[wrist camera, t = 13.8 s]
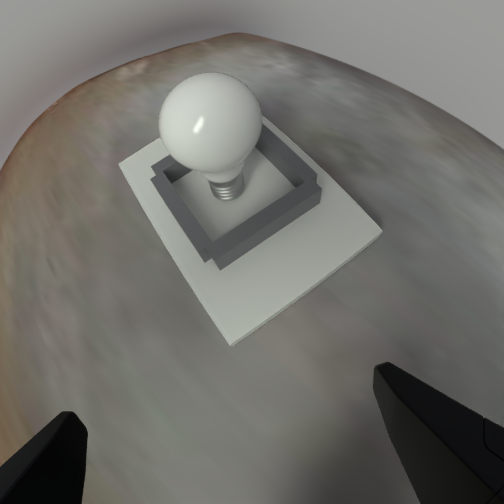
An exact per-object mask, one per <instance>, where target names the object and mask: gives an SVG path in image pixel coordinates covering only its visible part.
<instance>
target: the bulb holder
mask: <svg viewBox="0 0 504 504" xmlns="http://www.w3.org/2000/svg"><path fill="white" fill-rule="evenodd" d="M119 166H120V168H121V170H122V172H123V174H124V175H125V177H126V179H127V181H128V183H129V185H130V186H131V188H132V190H133V192H134V193H135V195H136V197H137V199H138V200H139V202H140V204H141V206H142V207H143V209H144V211H145V213H146V214H147V216H148V218H149V220H150V221H151V223H152V225H153V226H154V228H155V230H156V231H157V233H158V235H159V236H160V238H161V240H162V241H163V243H164V245H165V246H166V248H167V250H168V251H169V253H170V255H171V256H172V258H173V259H174V261H175V263H176V264H177V266H178V267H179V269H180V271H181V272H182V274H183V275H184V277H185V279H186V280H187V282H188V283H189V285H190V286H191V288H192V290H193V291H194V293H195V294H196V296H197V297H198V299H199V300H200V302H201V303H202V305H203V306H204V308H205V309H206V311H207V313H208V314H209V316H210V317H211V319H212V320H213V322H214V323H215V325H216V326H217V327H218V329H219V330H220V332H221V333H222V335H223V336H224V338H225V339H226V341H227V342H228V344H229V345H230V346H234V345H235V344H237V343H238V342H240V341H241V340H242V339H244V338H245V337H247V336H248V335H250V334H251V333H253V332H254V331H255V330H257V329H258V328H260V327H261V326H263V325H264V324H265V323H267V322H268V321H270V320H271V319H272V318H274V317H275V316H277V315H278V314H279V313H281V312H282V311H284V310H285V309H286V308H288V307H289V306H290V305H292V304H293V303H295V302H296V301H297V300H299V299H300V298H301V297H303V296H304V295H305V294H307V293H308V292H309V291H311V290H312V289H313V288H315V287H316V286H317V285H319V284H320V283H321V282H323V281H324V280H325V279H327V278H328V277H329V276H331V275H332V274H333V273H335V272H336V271H337V270H338V269H340V268H341V267H342V266H344V265H345V264H346V263H347V262H349V261H350V260H351V259H353V258H354V257H355V256H356V255H358V254H359V253H360V252H361V251H363V250H364V249H365V248H366V247H368V246H369V245H370V244H371V243H373V242H374V241H375V240H376V239H378V238H379V237H380V235H381V234H382V232H383V231H382V229H381V228H380V227H379V226H378V225H377V224H376V223H375V222H374V221H373V220H372V219H371V218H370V217H369V215H368V214H367V213H366V212H365V211H364V210H363V209H362V208H361V207H360V206H359V205H358V204H357V203H356V202H355V201H354V200H353V199H352V198H351V197H350V196H349V195H348V194H347V193H346V192H345V191H344V190H343V189H342V188H341V187H340V186H339V185H338V184H337V183H336V182H335V181H334V180H333V179H332V178H331V177H330V176H329V175H328V174H327V173H326V172H325V171H324V170H323V169H322V168H321V167H320V166H319V165H318V164H317V163H316V162H314V161H313V160H312V159H311V158H310V157H309V156H308V155H307V154H306V153H305V152H304V151H303V150H302V149H300V148H299V147H298V146H297V145H296V144H295V143H294V142H293V141H292V140H291V139H289V138H288V137H287V136H286V135H285V134H284V133H283V132H282V131H280V130H279V129H278V128H277V127H276V126H275V125H274V124H272V123H271V122H270V121H269V120H268V119H267V118H265V117H264V116H263V115H262V129H261V134H260V137H259V140H258V142H257V144H256V146H255V147H254V149H253V150H252V152H251V153H250V154H249V155H248V157H247V158H246V159H245V162H244V166H243V169H242V171H243V177H244V181H245V189H244V191H243V193H242V194H241V195H240V196H239V197H238V198H236V199H234V200H231V201H222V200H219V199H217V198H216V197H215V196H214V195H213V194H212V191H211V188H210V185H209V182H208V180H207V179H206V178H205V177H204V176H203V175H202V174H201V173H200V172H198V171H195V170H192V169H189V168H187V167H185V166H183V165H181V164H180V163H179V162H177V161H176V160H175V159H174V158H173V157H172V156H171V155H170V154H169V153H168V151H167V150H166V148H165V147H164V145H163V143H162V140H161V137H160V138H158V139H157V140H155V141H153V142H152V143H150V144H149V145H147V146H145V147H144V148H142V149H141V150H139V151H138V152H136V153H134V154H133V155H131V156H130V157H128V158H127V159H125V160H124V161H122V162H121V163H119Z"/></svg>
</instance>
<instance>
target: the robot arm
mask: <svg viewBox="0 0 504 504" xmlns="http://www.w3.org/2000/svg"><path fill="white" fill-rule="evenodd" d="M373 390H374V394H375V397H376V399H377V402H378V405H379V408H380V411H381V414H382V417H383V420H384V423H385V426H386V429H387V432H388V434H389V437H390V439H391V442H392V444H393V446H394V448H395V450H396V452H397V454H398V456H399V458H400V460H401V463H402V465H403V467H404V469H405V471H406V473H407V475H408V477H409V480H410V482H411V484H412V486H413V488H414V490H415V493H416V495H417V497H418V499H419V501H420V504H504V427H502V426H500V425H498V424H496V423H494V422H492V421H490V420H489V419H487V418H483V416H481V415H480V414H478V413H476V412H474V411H473V410H471V409H469V408H467V407H466V406H464V405H462V404H460V403H459V402H457V401H455V400H453V399H452V398H450V397H448V396H446V395H445V394H443V393H441V392H440V391H438V390H436V389H434V388H433V387H431V386H429V385H428V384H426V383H424V382H422V381H421V380H419V379H417V378H416V377H414V376H412V375H411V374H409V373H407V372H406V371H404V370H402V369H400V368H399V367H397V366H395V365H394V364H392V363H390V362H385V363H382V364H379V365H376V366H375V368H374V377H373ZM87 438H88V432H87V429H86V427H85V425H84V424H83V423H82V422H81V420H80V419H79V418H78V416H77V415H76V414H75V413H74V412H72V411H63V412H61V413H60V414H59V415H57V416H56V417H55V418H54V419H53V420H52V421H51V422H50V423H48V424H47V425H46V426H45V427H44V428H43V429H42V430H41V431H40V432H38V433H37V434H36V435H35V436H34V437H33V438H32V439H31V440H29V441H28V442H27V443H26V444H25V445H24V446H23V447H22V448H21V449H19V450H18V451H17V452H16V453H15V454H14V455H13V456H12V457H11V458H9V459H8V460H7V461H6V462H5V463H4V464H3V465H2V466H1V467H0V504H82V496H83V488H84V481H85V472H86V454H87Z"/></svg>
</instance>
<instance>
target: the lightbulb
mask: <svg viewBox="0 0 504 504" xmlns="http://www.w3.org/2000/svg"><path fill="white" fill-rule="evenodd" d="M158 125H159V134H160V137H161V140H162V143H163V145H164V147H165V148H166V150H167V151H168V153H169V154H170V155H171V156H172V157H173V158H174V159H175V160H176V161H177V162H179V163H180V164H181V165H183V166H185V167H187V168H189V169H192V170H195V171H198V172H200V173H201V174H202V175H203V176H204V177H205V178H206V179H207V180H208V182H209V185H210V188H211V191H212V194H213V195H214V196H215V197H216V198H217V199H219V200H222V201H231V200H234V199H236V198H238V197H239V196H240V195H241V194H242V193H243V191H244V189H245V181H244V177H243V171H242V169H243V166H244V162H245V159H246V158H247V157H248V155H249V154H250V153H251V152H252V150H253V149H254V147H255V146H256V144H257V142H258V140H259V137H260V134H261V129H262V112H261V108H260V105H259V102H258V100H257V98H256V96H255V95H254V93H253V92H252V91H251V89H250V88H249V87H248V86H247V85H246V84H244V83H243V82H242V81H240V80H239V79H237V78H235V77H233V76H230V75H228V74H224V73H218V72H205V73H200V74H196V75H193V76H190V77H188V78H186V79H184V80H183V81H181V82H180V83H178V84H177V85H176V86H175V87H174V88H173V89H172V90H171V91H170V92H169V94H168V95H167V96H166V98H165V100H164V102H163V104H162V106H161V109H160V113H159V122H158Z"/></svg>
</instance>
